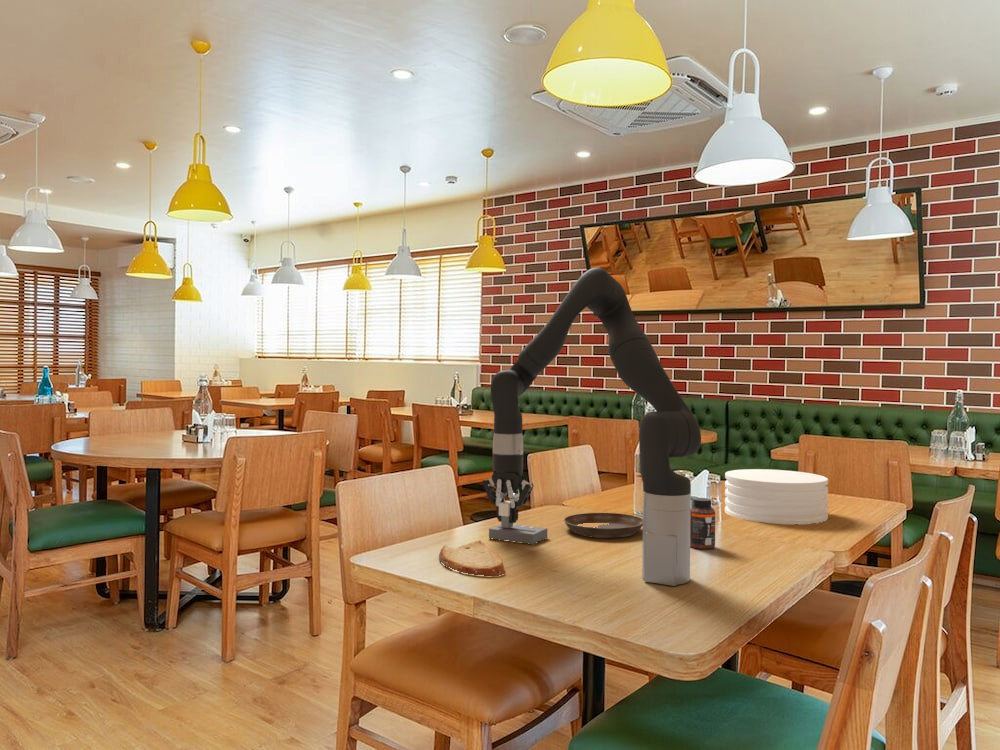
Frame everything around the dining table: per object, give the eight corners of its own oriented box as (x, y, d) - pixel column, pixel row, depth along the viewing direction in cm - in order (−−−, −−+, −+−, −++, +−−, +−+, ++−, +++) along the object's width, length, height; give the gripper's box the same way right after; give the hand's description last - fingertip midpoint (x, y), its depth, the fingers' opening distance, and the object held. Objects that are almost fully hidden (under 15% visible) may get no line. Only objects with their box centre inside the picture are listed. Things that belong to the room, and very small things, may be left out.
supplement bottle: (716, 550, 163) (716, 501, 163) (689, 549, 164) (690, 500, 164) (713, 544, 169) (714, 497, 169) (688, 543, 170) (688, 496, 170)
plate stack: (717, 504, 222) (717, 468, 222) (811, 507, 218) (811, 470, 218) (734, 523, 195) (734, 481, 195) (841, 526, 191) (842, 484, 191)
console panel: (532, 545, 167) (532, 534, 167) (488, 538, 173) (489, 528, 173) (547, 538, 174) (547, 527, 174) (504, 532, 180) (504, 522, 180)
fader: (508, 529, 171) (508, 504, 171) (498, 527, 173) (498, 503, 173) (515, 525, 175) (515, 501, 175) (506, 524, 176) (506, 500, 176)
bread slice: (499, 581, 139) (500, 562, 139) (417, 571, 145) (417, 553, 145) (527, 558, 156) (527, 541, 156) (452, 551, 162) (452, 534, 162)
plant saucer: (547, 529, 185) (547, 517, 185) (603, 520, 197) (603, 508, 197) (604, 545, 168) (604, 531, 168) (661, 534, 181) (661, 521, 181)
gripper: (475, 451, 174) (475, 521, 174) (526, 454, 167) (525, 528, 167) (491, 448, 180) (490, 516, 180) (540, 451, 174) (539, 522, 174)
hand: (507, 521), depth 174 cm, fingers closed on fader, 2 cm apart
